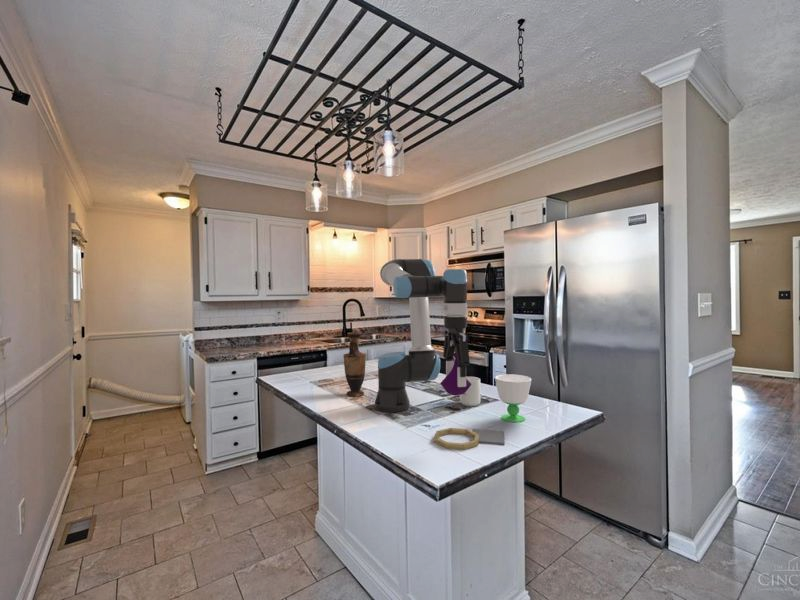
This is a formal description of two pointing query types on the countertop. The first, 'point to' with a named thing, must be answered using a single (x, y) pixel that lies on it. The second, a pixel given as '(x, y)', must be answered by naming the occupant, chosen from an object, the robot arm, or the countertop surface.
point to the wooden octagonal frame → (456, 445)
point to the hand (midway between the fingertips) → (455, 382)
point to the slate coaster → (489, 436)
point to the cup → (513, 394)
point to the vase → (354, 366)
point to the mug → (471, 393)
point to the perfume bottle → (454, 380)
